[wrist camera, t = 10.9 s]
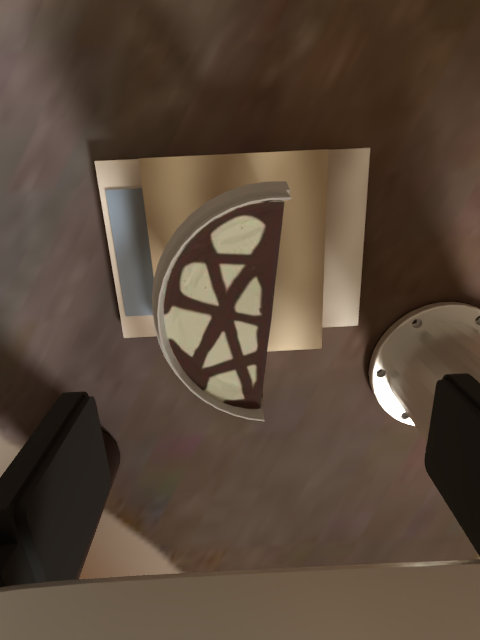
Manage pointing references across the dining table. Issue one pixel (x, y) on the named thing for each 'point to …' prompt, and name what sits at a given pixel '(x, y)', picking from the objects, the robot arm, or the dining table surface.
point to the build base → (335, 235)
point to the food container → (222, 296)
